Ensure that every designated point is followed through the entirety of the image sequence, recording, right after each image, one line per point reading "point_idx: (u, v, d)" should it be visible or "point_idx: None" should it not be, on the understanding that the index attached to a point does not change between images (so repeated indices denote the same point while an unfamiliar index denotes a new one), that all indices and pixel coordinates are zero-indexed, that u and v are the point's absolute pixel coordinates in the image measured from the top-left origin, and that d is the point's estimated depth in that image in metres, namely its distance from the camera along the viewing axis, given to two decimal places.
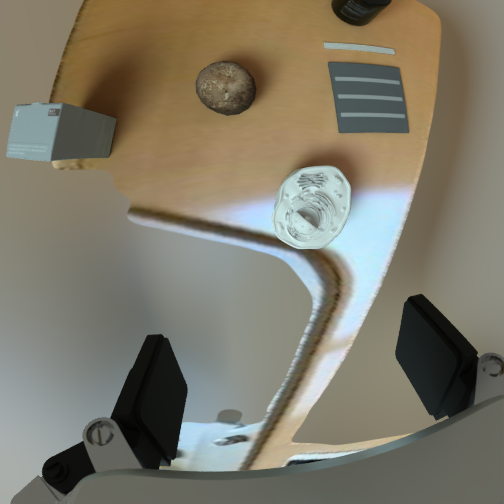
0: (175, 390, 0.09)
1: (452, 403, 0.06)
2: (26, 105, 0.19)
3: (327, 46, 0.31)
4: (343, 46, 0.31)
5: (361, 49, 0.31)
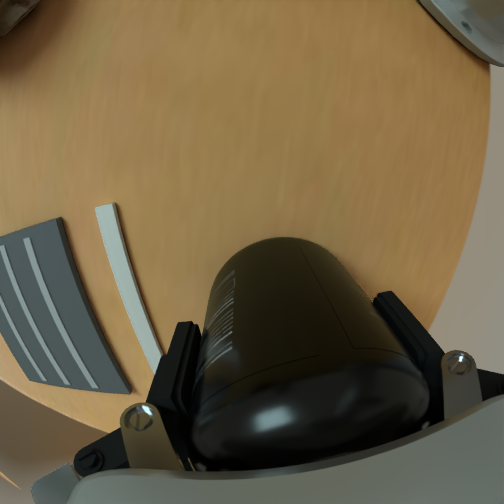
0: None
1: None
2: None
3: (102, 215, 0.11)
4: (119, 264, 0.12)
5: (131, 316, 0.13)
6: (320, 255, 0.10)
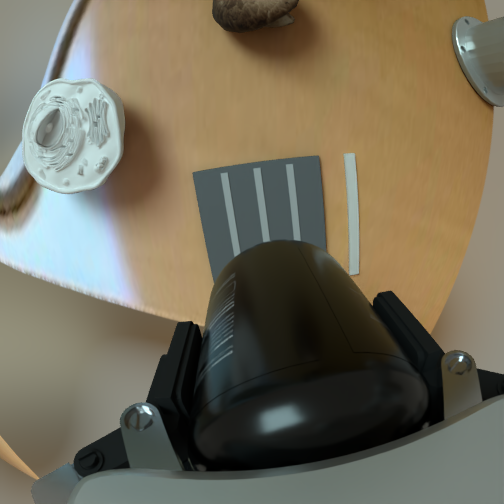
0: None
1: None
2: None
3: (348, 158, 0.23)
4: (352, 184, 0.24)
5: (350, 216, 0.25)
6: (320, 258, 0.10)
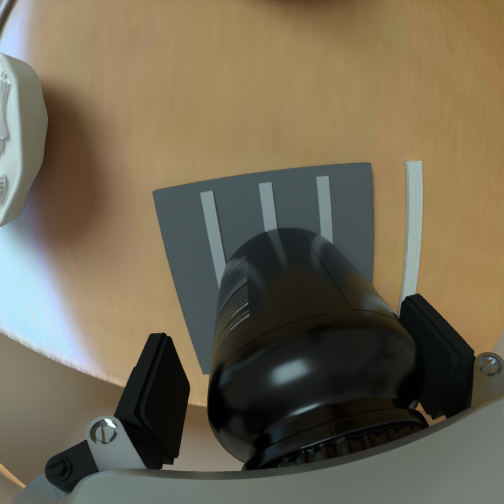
0: (178, 389, 0.09)
1: (449, 403, 0.06)
2: None
3: (412, 169, 0.13)
4: (415, 212, 0.14)
5: (408, 260, 0.15)
6: (321, 242, 0.11)
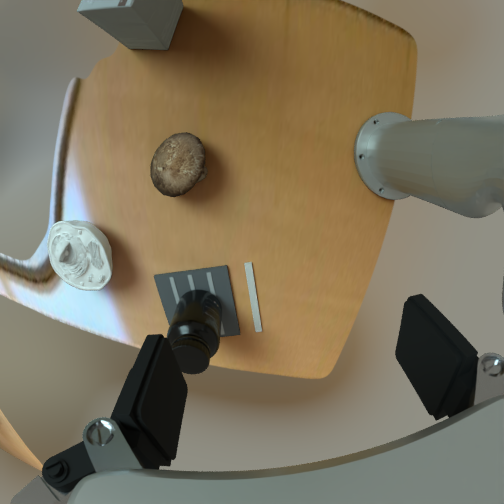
0: (175, 390, 0.09)
1: (452, 403, 0.06)
2: None
3: (247, 266, 0.39)
4: (250, 281, 0.40)
5: (251, 299, 0.41)
6: (203, 296, 0.38)
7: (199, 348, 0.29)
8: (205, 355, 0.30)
